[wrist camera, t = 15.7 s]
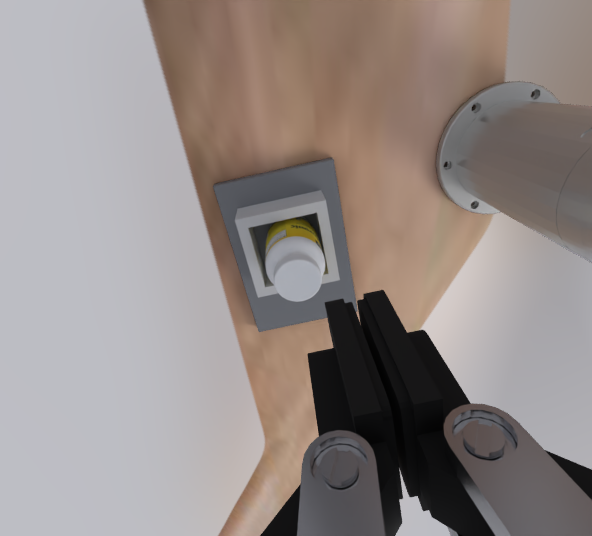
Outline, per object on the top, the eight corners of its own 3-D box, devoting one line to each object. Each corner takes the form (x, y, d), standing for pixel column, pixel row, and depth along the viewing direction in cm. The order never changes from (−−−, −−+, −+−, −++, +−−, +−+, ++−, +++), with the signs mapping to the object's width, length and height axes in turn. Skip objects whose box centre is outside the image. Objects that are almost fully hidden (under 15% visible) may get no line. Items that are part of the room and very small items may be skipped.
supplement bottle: (327, 237, 40) (343, 282, 31) (290, 269, 41) (296, 320, 32) (292, 202, 38) (299, 239, 29) (254, 237, 39) (250, 282, 30)
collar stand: (331, 157, 37) (339, 166, 33) (355, 306, 45) (364, 328, 41) (214, 183, 37) (207, 196, 33) (259, 327, 45) (258, 350, 41)
